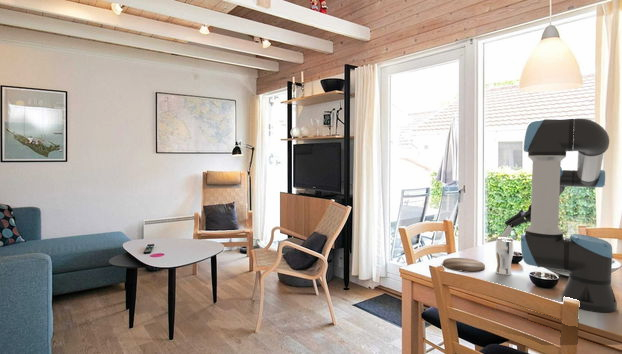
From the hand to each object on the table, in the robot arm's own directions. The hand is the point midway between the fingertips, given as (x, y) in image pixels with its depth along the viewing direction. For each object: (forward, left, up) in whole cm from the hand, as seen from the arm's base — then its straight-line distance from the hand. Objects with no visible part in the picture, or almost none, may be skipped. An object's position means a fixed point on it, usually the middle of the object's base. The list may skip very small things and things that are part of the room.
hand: (515, 241), depth 162 cm
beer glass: (-3, +7, -14) cm, 15 cm away
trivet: (+8, +20, -13) cm, 25 cm away
